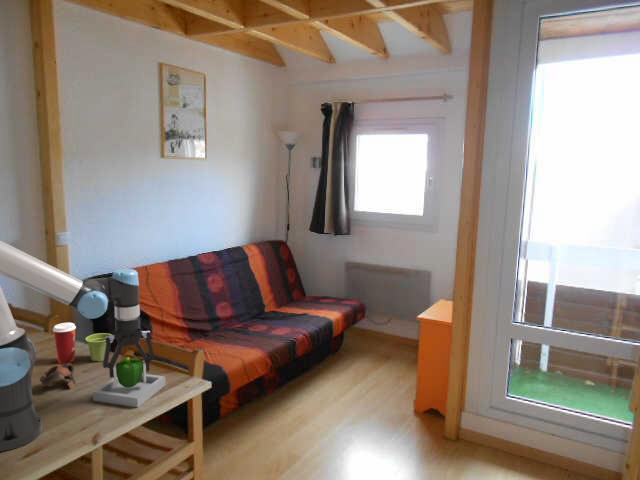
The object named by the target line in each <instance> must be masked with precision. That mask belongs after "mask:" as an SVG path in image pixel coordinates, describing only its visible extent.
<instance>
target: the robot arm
mask: <svg viewBox="0 0 640 480" xmlns="http://www.w3.org/2000/svg"><path fill="white" fill-rule="evenodd" d="M0 275H2V276H4V277H6V278H8V279H10V280H13V281H14V282H17V283H19V284H21V285H23V286H26V287H27V288H30V289H32V290H34V291H36V292H39V293H41V294H43V295H45V296H47V297H49V298H51V299H53V300H56V301H59V302H60V303H62V304H64V305H67V306H69V307H70V308H73V309H75V310H77V311H78V312H79V314H80V315H81V316H83V317H84V318H86V319H89V320H91V319H92V320H93V319H97V318H99V317H101V316H103V315H104V314H105V313H106V311H107V310H108V305H109V303H110V302H113V304H114V305H113V306H114V318H115V319H114V329H115V332H114V334H111V335H112V336H105V340H106V348H105V354H104V360H103V361H102V366H103V368H104V369H106V368H108V369H109V370H108V371H109V377H110V378H111V379H113V378H114V388H117V378H116V376H117V374H116V364H117V360H118V358H119V356H120V354H121V351H122V350H123V347H127V346H134V345H135V348H137V351H138V352H139V353H140V356H141V357H142V359H143V360H141V361H142V362H143V373H142V374H143V381H144V383H145V382H146V374H147V373H149V371H150V363H151V361H155V359H156V358H155V353H154V349H153V347H152V342H151V336H152V334H151V331H150V330H146V331H145V330H144V331H143V330H142V329H141V317H140V315H141V309H140V283H139V282H140V281H139V273H138V272H137V270H135V269H133V268H121V269H117V270H114V271H113V272H112V276H109V277H103V278H100V277H99V278H86V279H85V278H82V279H78V278H76V277H75V276H72V275H70V274H68V273H67V272H65V271H62V270H61V269H58V268H56V267H55V266H53V265H50V264H48V263H46V261H45V262H44V261H42V260H40V259H39V258H37V257H34V256H33V255H30V254H28V253H27V252H24V251H22V250H20V249H18V248H16V247H14V246H12V245H11V244H8V243H6V242H4V241H2V240H0ZM13 316H14V315H13V314H12V311H11V309H10V307H9V304H8V301H7V299H6V297H5V294H4V292H3V289H2V286H1V285H0V452H6V451H11V450H13V449H16V448H20V447H22V446H25V445H28V444H29V443H31V442H32V441H34V440H35V439H36V438H37V437H39V436H40V434H41V433H42V431H43V423H42V419H41V416H40V415H39V412H38V411H37V409H36V408H35V404H34V401H33V390H32V389H33V387H32V375H33V371H34V365H35V364H36V359H37V350H36V347H35V345H34V344H33V342H32V340H30V339H29V337H28V335H27V333H26V331H25V329H24V328H21V327H18V326H17V323H16V321H15V318H14V317H13ZM142 336H143V338H144V339H145V341H146V346H147V349H148V354H149V355H147V354H146V352H145V350H144V349H143V346H142V345H141V343H140V342H139V340H140V338H141V337H142ZM114 339H115V340H116V342H117V345H116V347H115V350H114V352H113V355H112V356H111V359H110V361H109V358H110V354H111V353H110V351H111V346H112V345H111V344H112V343H113V342H114Z"/></svg>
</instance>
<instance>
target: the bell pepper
mask: <svg viewBox="0 0 640 480" xmlns="http://www.w3.org/2000/svg"><path fill="white" fill-rule="evenodd" d="M142 361H143V360H140V358H138V357H133V358H131V357H130V356H126V358H122V359H121V360H120V361H118V362H116V363H115V365H116V376H117V378H118V381H119V383H120V384H121V385H122V386H124V387H133V386H135V385H136V384H137V383H139V382H140V380H141V377H142V374H143V362H142Z"/></svg>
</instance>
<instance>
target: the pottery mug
mask: <svg viewBox="0 0 640 480" xmlns="http://www.w3.org/2000/svg"><path fill="white" fill-rule="evenodd" d="M74 369H75V368H74V365H73V363H71V362H70V363H64V364H63V366H61V365H60V364H57V365H54V366H52V367H51V368H49V369H48V370H47V371H46V372H45V373H44V375H45V376H44V375H41V377H40V378H39V382H41V383H40V384H41V387H42V388H44V387H51V386H52V385H51V384H52V381H54V382H59V381H61V380H62V379H61V377H60V374H61V375H63V377H64V379H65V380H69V382H68V383H67V386H68V388H69V389H70V390H72V389H73V388H74V386H75V385H76V381H75V379H74V375H73V374H74Z"/></svg>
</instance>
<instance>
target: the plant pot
mask: <svg viewBox="0 0 640 480" xmlns="http://www.w3.org/2000/svg"><path fill="white" fill-rule="evenodd" d="M112 335H113V334H111V333H105V332H103V333H94V334H91V335H88V336H86V337H85V342H87V345H88V350H89V353H90V354H89V355H90V359H91V361H92V362H103V360H104V354H105V348H106V340H105V336H112Z"/></svg>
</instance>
